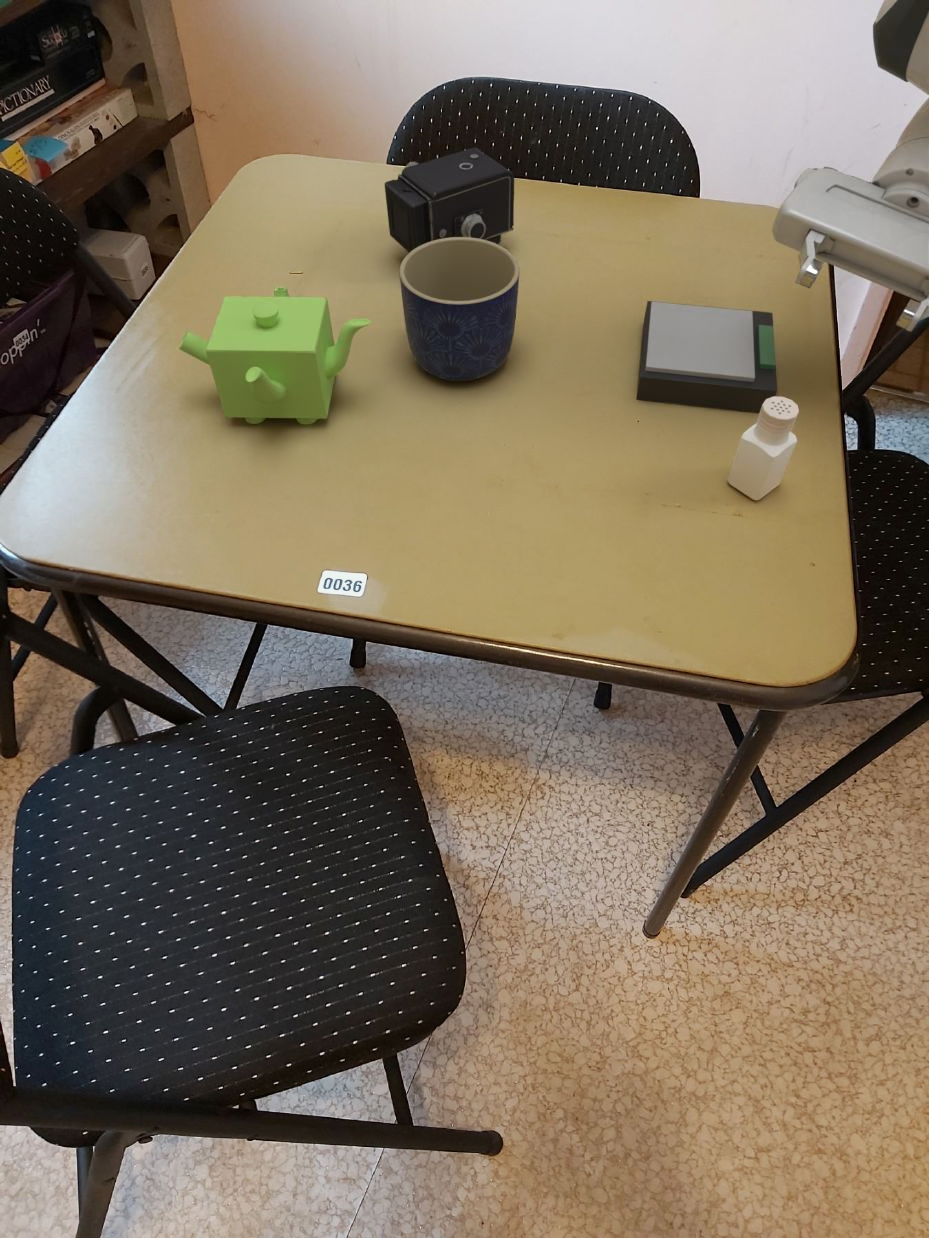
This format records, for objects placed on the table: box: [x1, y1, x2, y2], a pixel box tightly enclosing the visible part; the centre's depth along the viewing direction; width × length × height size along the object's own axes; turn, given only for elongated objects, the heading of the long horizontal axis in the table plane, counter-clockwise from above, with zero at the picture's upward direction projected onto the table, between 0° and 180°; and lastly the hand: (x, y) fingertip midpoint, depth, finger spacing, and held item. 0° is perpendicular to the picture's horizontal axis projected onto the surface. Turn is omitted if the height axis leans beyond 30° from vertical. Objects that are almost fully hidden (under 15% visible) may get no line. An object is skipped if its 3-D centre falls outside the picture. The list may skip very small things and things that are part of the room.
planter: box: [398, 237, 521, 382], centre depth 90 cm, size 12×12×11 cm
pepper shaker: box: [727, 395, 800, 501], centre depth 79 cm, size 4×4×10 cm
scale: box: [636, 300, 778, 414], centre depth 92 cm, size 14×14×4 cm
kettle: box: [178, 286, 372, 425], centre depth 86 cm, size 15×14×11 cm
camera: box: [384, 147, 515, 254], centre depth 103 cm, size 11×11×15 cm
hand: (854, 301), depth 73 cm, fingers open, 8 cm apart
